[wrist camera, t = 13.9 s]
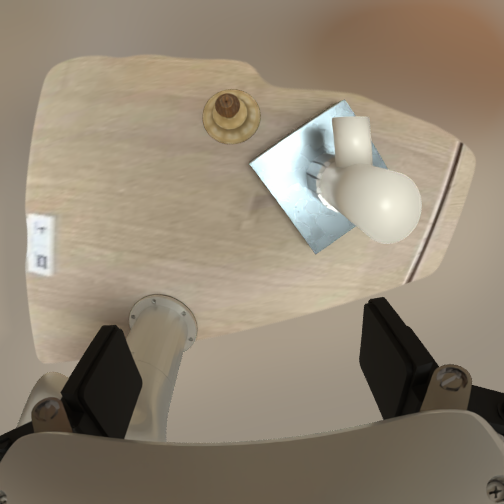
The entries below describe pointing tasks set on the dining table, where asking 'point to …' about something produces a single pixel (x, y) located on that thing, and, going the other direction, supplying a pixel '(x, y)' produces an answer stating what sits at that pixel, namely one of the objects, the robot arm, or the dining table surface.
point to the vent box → (308, 177)
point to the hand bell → (231, 116)
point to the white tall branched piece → (368, 185)
